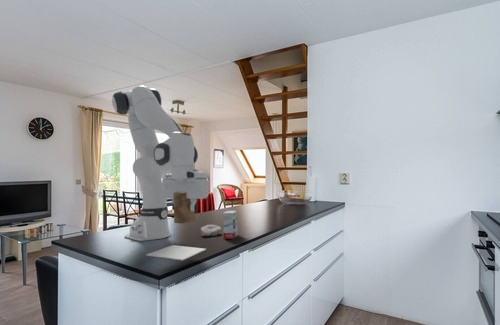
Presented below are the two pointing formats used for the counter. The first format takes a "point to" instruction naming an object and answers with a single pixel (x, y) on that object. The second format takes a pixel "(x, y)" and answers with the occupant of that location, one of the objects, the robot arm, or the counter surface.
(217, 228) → the fossil
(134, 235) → the robot arm
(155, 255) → the mat
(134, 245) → the counter surface
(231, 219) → the ink box
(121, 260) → the counter surface
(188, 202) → the walnut block
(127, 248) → the counter surface
